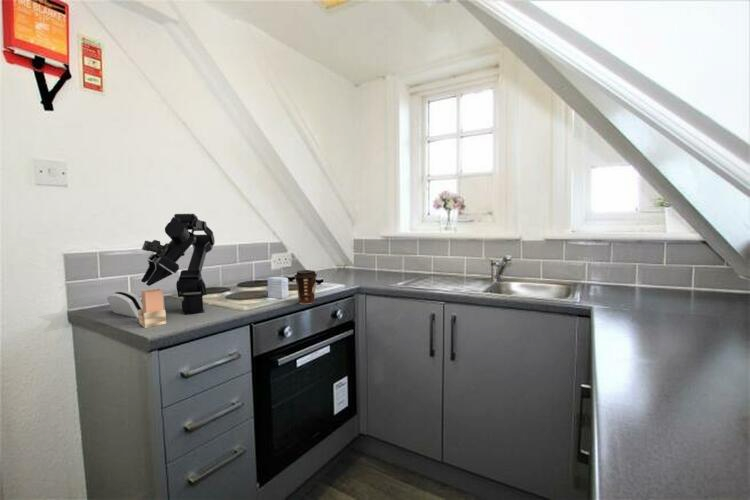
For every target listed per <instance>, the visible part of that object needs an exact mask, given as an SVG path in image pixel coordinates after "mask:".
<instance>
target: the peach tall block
mask: <svg viewBox="0 0 750 500" xmlns="http://www.w3.org/2000/svg"><path fill="white" fill-rule="evenodd" d="M140 292H141V302H142V306H143V313H148V312H154V311H160V310H165V311H166V309H165V295H164V294H163V293H164V292H163V289H161V288H153V289H146V290H141V291H140ZM143 321H144V315H143Z"/></svg>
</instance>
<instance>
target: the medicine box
mask: <svg viewBox="0 0 750 500" xmlns="http://www.w3.org/2000/svg"><path fill="white" fill-rule="evenodd" d="M268 297H269V298H270V299H278V300H279V299H280V300H284V299H288V298H289V278H288V277H284V276H283V277H280V276H273V277H272V276H271V277H268V278H267V298H268ZM269 298H268V299H269Z"/></svg>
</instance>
